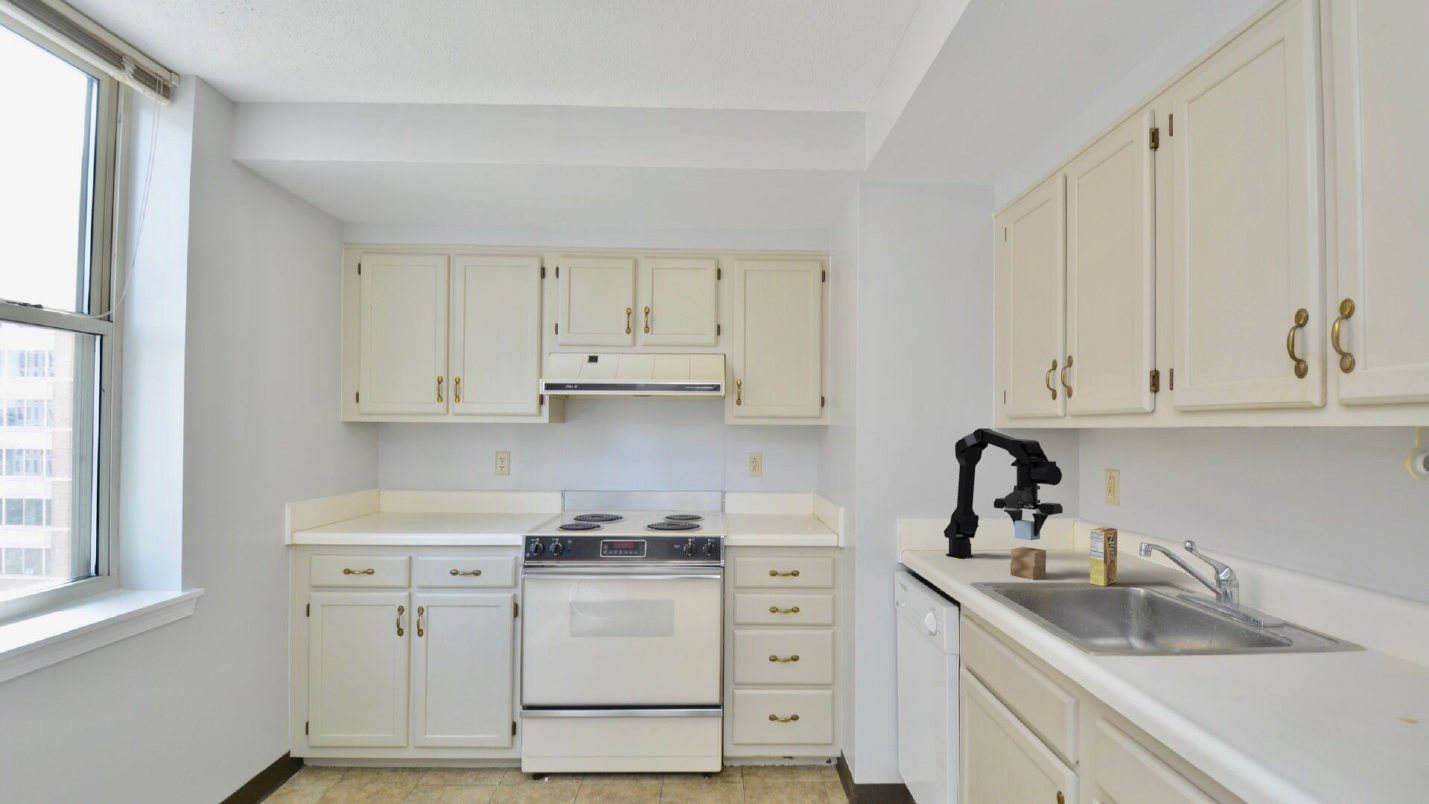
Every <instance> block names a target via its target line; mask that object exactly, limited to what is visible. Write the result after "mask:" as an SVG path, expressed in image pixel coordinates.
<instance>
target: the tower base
mask: <svg viewBox="0 0 1429 804" xmlns="http://www.w3.org/2000/svg"><path fill="white" fill-rule="evenodd" d="M1009 563H1010V565H1009V566H1010V570H1009V571H1010V572H1009V573H1010V576H1011V575H1012V576H1011V577H1015V578H1021V579H1026V578H1027V580H1030V579H1032V580H1031V581H1036V580H1038V579H1044V578H1046V576H1047V568H1046V567H1047V563H1046V564H1044V565H1040V566H1037V567H1031V566H1026V565H1020V564H1014V563H1011V562H1009Z"/></svg>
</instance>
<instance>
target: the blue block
mask: <svg viewBox="0 0 1429 804" xmlns="http://www.w3.org/2000/svg"><path fill="white" fill-rule="evenodd" d="M1014 538H1015V539H1018V540H1019V539H1020V540H1025V541H1035V540H1040V539H1041V531H1040V532H1039V534H1038V536H1034V520H1028V519H1022V520H1019V521H1015V526H1014Z"/></svg>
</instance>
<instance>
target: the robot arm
mask: <svg viewBox="0 0 1429 804" xmlns="http://www.w3.org/2000/svg"><path fill="white" fill-rule="evenodd" d="M989 444H990V445H992V446H994V447H996V448H1000V449H1002V450H1005V451H1006V452H1008V455H1010V456H1012V457H1013V458H1015V460H1014V461H1013V462H1011V464H1010V466H1011V467H1016V485H1014V486H1013V491H1011V492H1010V493H1008V494H1007V495H1006V496H1004V497H1000V498H998V497H997V498H995V499H994V501H993V508H995V509H1001V510H1002V509H1003V512H1005V513H1007V514H1008V515H1009V517H1010V518H1011V521H1012V523H1013V526H1014V527H1015V521H1019V520H1023V511H1024V510H1025V509H1026V510H1032V511H1033V510H1035V511H1036V512H1034V513H1031V515H1032V517H1033V521H1034V536H1038V534H1039V532H1040V533H1041V529H1042V528H1043V526H1044V523H1045V522H1046V520H1047V519H1048V517H1049V516H1052V515H1059V514H1063V511H1064V508H1063V506H1062V504H1061V503H1060V502H1059V503H1058V502H1042V503H1041V499H1039V497H1038V494H1039V490H1041V485H1047V486H1056V485H1060V484H1059V483H1061V481H1062V478H1063V472H1062V470H1061V468H1060V467H1059V466H1058V465H1057V461H1056V460H1054V461H1053V460H1052V461H1051V460H1049V459H1048V457H1047V455H1046V453H1045V452H1044V451H1043V448H1042V446H1041V445H1040V442H1039V441H1037V440H1034V439H1025V438H1024V439H1023V438H1015V437H1013V436H1010V435H1007V434H1003V433H1001V432H998V431H996V430H993V429H991V428H977V429H975V430H973V432H971V433H969V434H967V435H965V436H963V437H962V438H961V439H958V440H957V441H956V442H955V445H954V451H955V452H954V454H955V456H954V457H955V459H956V460H957V463H958V464H959V471H958V486H957V499H956V501H957V502H956V507H955V509H954V511H953V512H952V514H951V516H950V521H949V523H948V525H947V526H946V528H945V529H944V530H943V534H944V538H947V539H948V552H947V553H945V556H949V557H953V558H957V559H966V558H971V557H973V556H974V554H972V542H971V539H974V538H975V537H976V536H975V535H976V533H977V530H978V528H979V519H980V517H979V515H978V514H976V513H975V511H974V509H973V508H974V507H973V505H974V493H975V480H976V466H977V465H978V464H979V462H980V461H981V459H982V455H983V451H984V450H985V449H986V448H988V446H989ZM1038 484H1041V485H1038ZM1023 509H1024V510H1023Z"/></svg>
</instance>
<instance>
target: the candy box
mask: <svg viewBox="0 0 1429 804" xmlns="http://www.w3.org/2000/svg"><path fill="white" fill-rule="evenodd" d="M1089 531H1090V533H1089V536H1090V537H1089V539H1090V540H1089V541H1090V542H1089V543H1090V544H1089V547H1090V548H1089V585H1095V586H1100V587H1106V586H1108V585H1111V584H1114V583H1117V582H1118V570H1117V569H1118V529H1117V528H1112V527H1105V526H1102V527H1098V528H1095V529H1094V528H1093V529H1090V530H1089Z"/></svg>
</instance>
